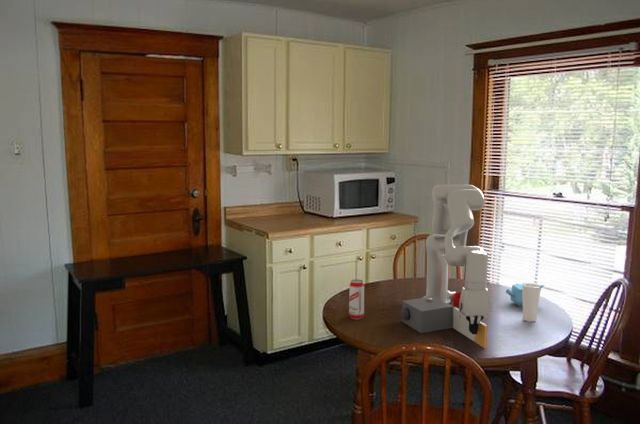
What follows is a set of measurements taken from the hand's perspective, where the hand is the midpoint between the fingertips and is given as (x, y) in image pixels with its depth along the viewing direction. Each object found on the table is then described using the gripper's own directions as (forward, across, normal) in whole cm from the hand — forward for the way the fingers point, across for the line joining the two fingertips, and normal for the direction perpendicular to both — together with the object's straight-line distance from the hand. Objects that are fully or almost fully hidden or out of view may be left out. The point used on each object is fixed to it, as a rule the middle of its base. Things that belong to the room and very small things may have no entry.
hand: (473, 332), depth 199 cm
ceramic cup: (+5, -10, -25) cm, 28 cm away
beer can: (+5, +36, -36) cm, 51 cm away
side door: (+5, -2, -8) cm, 9 cm away
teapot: (+5, -43, -42) cm, 60 cm away
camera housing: (+5, +10, -24) cm, 26 cm away
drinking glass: (+5, -35, -23) cm, 42 cm away
